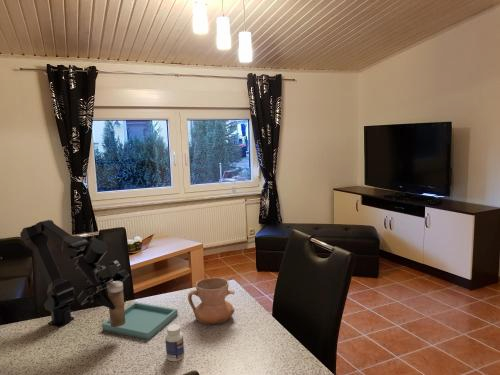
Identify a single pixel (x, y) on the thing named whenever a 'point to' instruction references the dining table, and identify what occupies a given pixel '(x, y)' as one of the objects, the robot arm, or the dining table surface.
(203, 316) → the ceramic jug
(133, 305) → the tray
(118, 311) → the shaker
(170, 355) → the pill bottle
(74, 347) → the dining table surface
